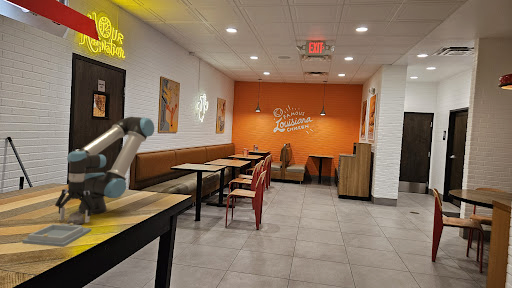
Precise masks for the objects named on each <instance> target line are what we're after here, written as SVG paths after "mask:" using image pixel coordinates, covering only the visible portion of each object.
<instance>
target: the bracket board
mask: <svg viewBox="0 0 512 288" xmlns="http://www.w3.org/2000/svg"><path fill="white" fill-rule="evenodd" d="M91 232H92V228H89V227H84V226H83V225H82V224H78V225H73V223H70V224H68V223H61V224H55V223H53V224H52V223H51V224H49V225H47V226H45V227H42V228H40V229H38V230H36V231H34V232H31V233H29V234H28V235H27V238H24V239H22V244H29V245H40V246H53V247H63V248H64V247H65V246H68V245H69V244H70V243H71V244H72V243H73V242H74V241H76V240H77V239H79V238H82V237H83V236H85V235H87V234H88V233H91Z"/></svg>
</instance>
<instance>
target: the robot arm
mask: <svg viewBox="0 0 512 288" xmlns="http://www.w3.org/2000/svg"><path fill="white" fill-rule="evenodd" d="M154 132H155V125H154V122H153V120H152V119H151V118H148V117H145V116H143V117H139V116H137V117H136V116H128V117H124V118H122V119H120V120H119V121H117V122H115V123H114V124H113V125H112V126H111V128H110V129H108V130H107V131H105V132H104V133H103V134H100V135H99V136H98V137H97V138H95V139H93V140H92V141H91V142H90V143H88V144H86V145H85V146H84V147H82V148H80V149H79V150H78V151H77V150H76V151H75V150H74V151H71V152H69V154H67V157H66V160H67V163H68V164H69V165H68V167H69V168H68V171H69V172H68V183H67V184H68V186H67V188H68V189H67V188H63V189H62V190H61V193H60V196H58V199H57V201H56V203H55V204H54V206H55V207H57V208H58V214H59V221H64V220H65V211H66V209H65V208H66V207H65V205H66V204H67V203H68V202H70V200H71V199H73V200H74V199H75V200H79V201H80V202H79V206H78V210H77V211H79V212H80V213H82V215H83V214H84V215H85V217H84V221H85V222H84V223H86V224H87V223H89V222H90V217H91V216H92V215H95V214H101V213H105V212H106V211H107V204H106V200H105V197H106V198H108V199H118V198H120V197H121V196H122V195H124V193H125V191H126V190H127V182H126V181H127V177H126V175H127V172H128V171H129V168H130V166H131V164H132V163H133V160H134V158H135V156H136V155H137V153H138V151H139V148H140V146H141V145H142V143H143V142H146V139H147V138H148V137H151V136H152V135H154ZM125 136H128V137H127V139H126V141H125V142H124V144H123V146H122V148H121V149H120V152H119V154H118V156H117V157H116V160H115V161H114V163H113V165H112V167H111V169H110V170H107V171H106V172H91V173H90V172H89V173H86V170H88V169H89V170H90V169H101V168H104V167H106V164H107V157H106V156H105V155H104V154H99V153H101V152H102V151H103V150H105V149H107V148H108V147H109V146H110V145H112V144H113V143H114V142H116V141H117V140H119V139H120V138H121V139H122V138H124V137H125ZM66 194H68V195H67V196H66ZM65 197H66V198H65Z"/></svg>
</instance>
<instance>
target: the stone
mask: <svg viewBox="0 0 512 288" xmlns="http://www.w3.org/2000/svg"><path fill="white" fill-rule="evenodd" d="M66 222H67V223H66V224H70V223H73V225H82V224H84V223H85V217H84V215H83V213H80V212H79V211H78V210H76V211H75V212H72V213H70V214H69V216H68V217H67V221H66Z"/></svg>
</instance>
